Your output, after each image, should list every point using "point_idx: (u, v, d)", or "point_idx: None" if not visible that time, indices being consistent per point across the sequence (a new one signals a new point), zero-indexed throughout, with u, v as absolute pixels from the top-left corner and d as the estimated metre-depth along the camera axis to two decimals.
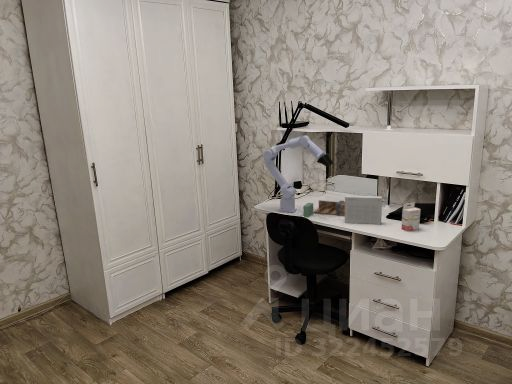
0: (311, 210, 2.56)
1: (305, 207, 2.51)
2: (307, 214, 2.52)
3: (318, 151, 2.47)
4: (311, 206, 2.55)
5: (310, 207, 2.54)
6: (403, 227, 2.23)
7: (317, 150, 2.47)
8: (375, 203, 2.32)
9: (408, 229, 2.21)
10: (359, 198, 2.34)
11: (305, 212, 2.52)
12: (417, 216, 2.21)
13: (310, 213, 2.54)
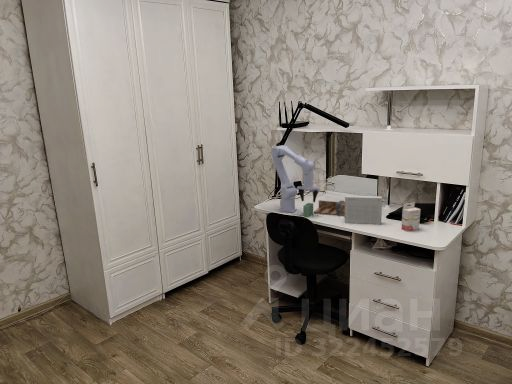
0: (311, 210, 2.56)
1: (305, 207, 2.51)
2: (307, 214, 2.52)
3: (304, 185, 2.51)
4: (311, 206, 2.55)
5: (310, 207, 2.54)
6: (403, 227, 2.23)
7: (304, 183, 2.51)
8: (375, 203, 2.32)
9: (408, 229, 2.21)
10: (359, 198, 2.34)
11: (305, 212, 2.52)
12: (417, 216, 2.21)
13: (310, 213, 2.54)
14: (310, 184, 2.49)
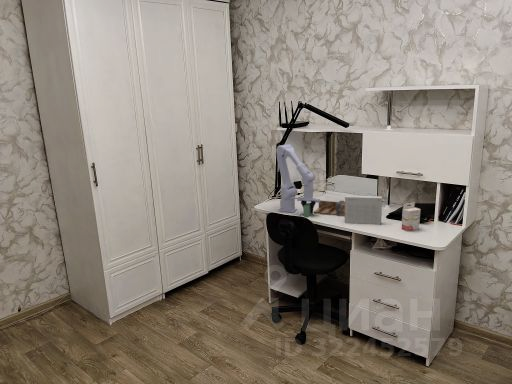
0: None
1: (305, 207, 2.51)
2: (307, 213, 2.52)
3: (304, 196, 2.53)
4: None
5: None
6: (403, 227, 2.23)
7: (304, 194, 2.53)
8: (375, 203, 2.32)
9: (408, 229, 2.21)
10: (359, 198, 2.34)
11: (305, 212, 2.52)
12: (417, 216, 2.21)
13: (310, 213, 2.54)
14: (310, 195, 2.51)
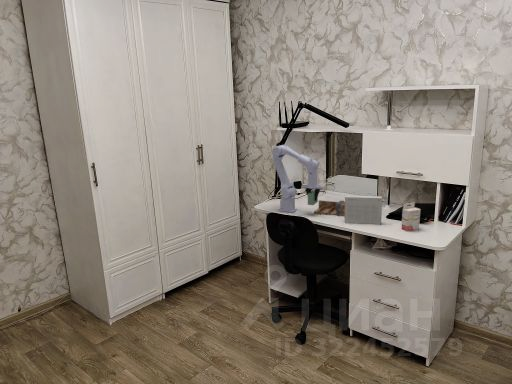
0: None
1: (309, 195, 2.51)
2: (311, 201, 2.51)
3: (308, 183, 2.52)
4: None
5: (314, 195, 2.53)
6: (403, 227, 2.23)
7: (308, 182, 2.52)
8: (375, 203, 2.32)
9: (408, 229, 2.21)
10: (359, 198, 2.34)
11: (309, 200, 2.51)
12: (417, 216, 2.21)
13: (314, 201, 2.54)
14: (314, 183, 2.50)
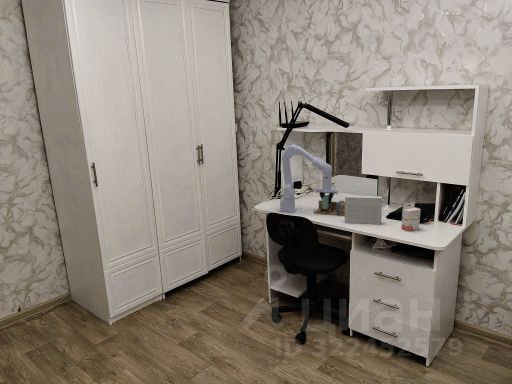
0: None
1: (324, 199, 2.55)
2: (325, 205, 2.56)
3: (322, 187, 2.57)
4: None
5: (328, 199, 2.57)
6: (403, 227, 2.23)
7: (322, 186, 2.57)
8: (375, 203, 2.32)
9: (408, 229, 2.21)
10: (359, 198, 2.34)
11: (323, 204, 2.56)
12: (417, 216, 2.21)
13: (328, 205, 2.58)
14: (329, 187, 2.55)
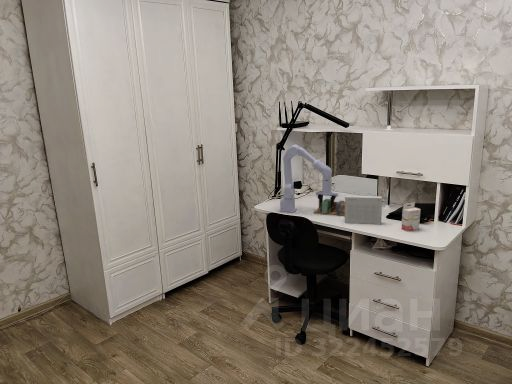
0: (329, 206, 2.60)
1: (324, 203, 2.56)
2: (325, 209, 2.56)
3: (322, 190, 2.57)
4: (329, 202, 2.60)
5: (328, 203, 2.58)
6: (403, 227, 2.23)
7: (322, 189, 2.57)
8: (375, 203, 2.32)
9: (408, 229, 2.21)
10: (359, 198, 2.34)
11: (323, 207, 2.57)
12: (417, 216, 2.21)
13: (328, 209, 2.59)
14: (329, 190, 2.55)
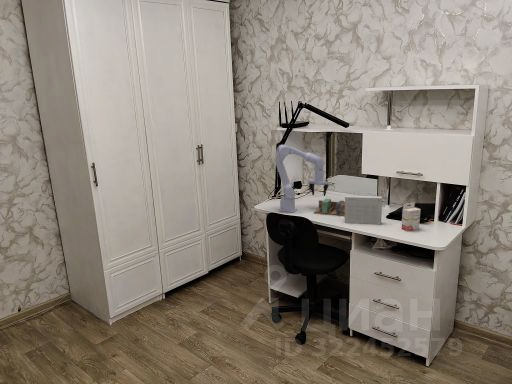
0: (329, 206, 2.60)
1: (324, 203, 2.56)
2: (325, 209, 2.56)
3: (315, 179, 2.65)
4: (329, 202, 2.60)
5: (328, 203, 2.58)
6: (403, 227, 2.23)
7: (315, 178, 2.64)
8: (375, 203, 2.32)
9: (408, 229, 2.21)
10: (359, 198, 2.34)
11: (323, 207, 2.57)
12: (417, 216, 2.21)
13: (328, 209, 2.59)
14: (321, 179, 2.63)
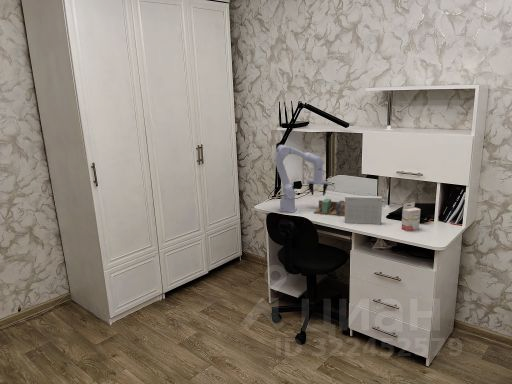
0: (329, 206, 2.60)
1: (324, 203, 2.56)
2: (325, 209, 2.56)
3: (314, 179, 2.65)
4: (329, 202, 2.60)
5: (328, 203, 2.58)
6: (403, 227, 2.23)
7: (314, 178, 2.65)
8: (375, 203, 2.32)
9: (408, 229, 2.21)
10: (359, 198, 2.34)
11: (323, 207, 2.57)
12: (417, 216, 2.21)
13: (328, 209, 2.59)
14: (320, 178, 2.64)
